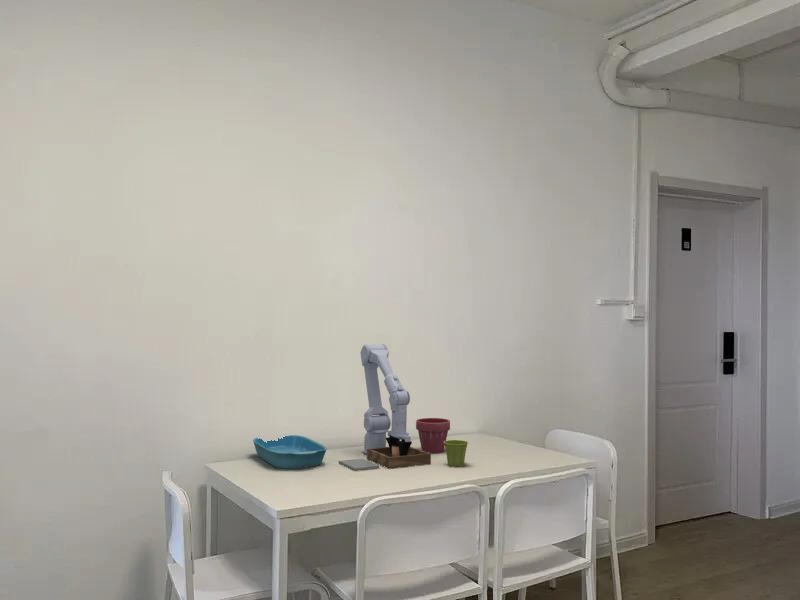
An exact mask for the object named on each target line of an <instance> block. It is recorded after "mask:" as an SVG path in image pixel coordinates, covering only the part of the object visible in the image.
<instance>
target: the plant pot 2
mask: <svg viewBox="0 0 800 600" xmlns="http://www.w3.org/2000/svg"><path fill="white" fill-rule="evenodd" d="M444 444H445V447H444V448H445V452H446V460H447V465H448V464H449V465H448V466H449V467H458V466H459V467H462V466H464V465H465V459H466V452H467V448H468V445H469V441H467V440H461V439H449V440H447V439H446V441H444Z"/></svg>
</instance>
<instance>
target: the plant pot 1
mask: <svg viewBox="0 0 800 600" xmlns="http://www.w3.org/2000/svg"><path fill="white" fill-rule="evenodd" d="M415 429H416V430H417V433H418V437H419V438H418V439H419V442H420V443H419V444H420V447H421V450H422V451H425V452H430V454H439V452H440V453H443V452H444V451H445V448H446V447H445V444H444V441H447V439H448V438H447V437H448V432H449V431H451V420H450V419H447V418H443V417H442V418H440V417H424V418H417V419H416V420H415Z"/></svg>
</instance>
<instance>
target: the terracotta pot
mask: <svg viewBox="0 0 800 600" xmlns="http://www.w3.org/2000/svg"><path fill="white" fill-rule="evenodd" d="M397 456H400V452H399V446H398V445H393V446H392V457H397Z"/></svg>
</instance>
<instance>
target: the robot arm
mask: <svg viewBox="0 0 800 600" xmlns="http://www.w3.org/2000/svg"><path fill="white" fill-rule="evenodd" d="M359 353H360V359H361V366H362V367H363V368H364V369H363V370H364V376H365V377H364V378H365V384H366V391H367V394H366V395H367V398H368V399H367V400H368V401H367V402H368V410H366V411H365V412H364V414H363V428H364V430H365V432H366V433H365V435H364V437H363V438H364V442H363V443H364V448H363V449H364V450H362V451H361V453H363V454H366V455H367V449H373V448H384V447H387V444H388V447H389V448H390V453H391V456H392V446H393V445H398V446H399V452H400V456H407V453H408V450H409V447H410V446H411V445H412V444H413V441H411V437H412V436H411V435H409V434H410V433H409V432H407V421H408V420H407V418H408V417H407V416H408V415H407V410H408V409H407V408H408V405H409V404H410V402H411V395H410V393H409V391H408V390H407V389H405V388H404V387H403V385H402V383H401V381H400V379H399V376H398V375H396V374H394V373H393V370H392V367H391V365H390V361H389V354H390V353H389V349H388V346H387V345H386V344H385V343H383V344H363V345H362V347H361V349H360V351H359ZM378 368H379V370H380V371H381V373H382V375H383V376H384V380H383V383H384V385H385V387H386V389H387V392H388V394H389V396H388V402H389V405H390V411H391V418H390V415H389V411H388V410H387V409H386V408H384V407H383V404H382V403H383V402H382V396H381V388H380V387H381V386H380V382H379V381H380V380H379V373H378ZM390 428H391V430H390ZM411 447H412V446H411Z"/></svg>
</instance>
